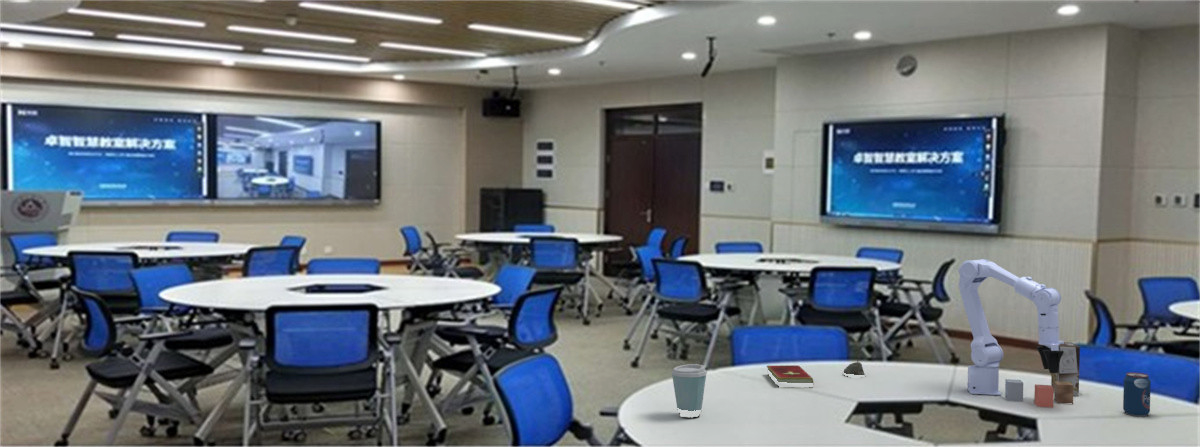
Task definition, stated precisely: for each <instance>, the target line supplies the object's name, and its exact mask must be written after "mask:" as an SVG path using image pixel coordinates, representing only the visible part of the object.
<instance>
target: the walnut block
mask: <svg viewBox="0 0 1200 447" xmlns="http://www.w3.org/2000/svg"><path fill="white" fill-rule="evenodd" d="M1073 389H1074V385H1073V384H1071V383H1070V382H1055V383H1054V395H1053V401H1055V402H1056V404H1061V403H1072V404H1071V405H1073V404H1074V396H1073Z"/></svg>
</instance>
